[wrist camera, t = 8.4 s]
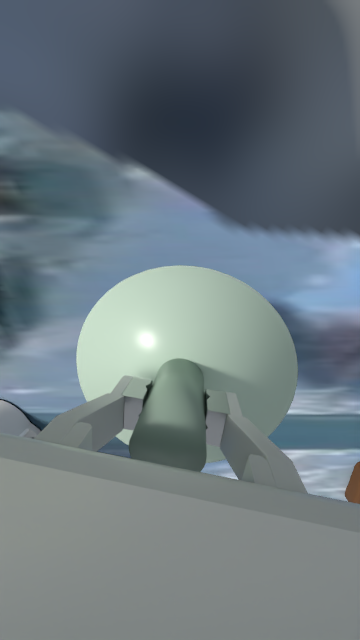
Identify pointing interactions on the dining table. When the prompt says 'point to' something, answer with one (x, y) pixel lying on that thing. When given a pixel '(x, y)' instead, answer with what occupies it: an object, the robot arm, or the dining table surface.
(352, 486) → the plant
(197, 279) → the lid
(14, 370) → the dining table surface
